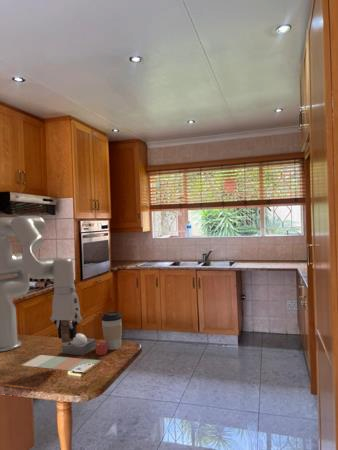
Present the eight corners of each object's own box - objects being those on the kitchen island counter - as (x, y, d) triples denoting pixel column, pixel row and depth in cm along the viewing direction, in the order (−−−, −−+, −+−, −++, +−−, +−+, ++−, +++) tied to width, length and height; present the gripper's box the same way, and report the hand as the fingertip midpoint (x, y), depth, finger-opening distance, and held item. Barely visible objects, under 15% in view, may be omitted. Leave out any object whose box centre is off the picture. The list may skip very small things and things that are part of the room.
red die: (96, 355, 145) (95, 345, 145) (97, 351, 149) (97, 342, 149) (105, 354, 145) (105, 344, 145) (107, 351, 149) (106, 341, 149)
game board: (19, 366, 138) (19, 365, 138) (39, 356, 148) (39, 354, 148) (85, 373, 127) (85, 372, 127) (101, 362, 138) (101, 360, 138)
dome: (67, 352, 149) (66, 335, 149) (77, 346, 156) (76, 330, 156) (81, 353, 147) (80, 336, 147) (90, 347, 153) (89, 331, 153)
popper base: (62, 354, 148) (61, 345, 148) (76, 346, 158) (75, 337, 158) (82, 356, 145) (82, 346, 145) (95, 348, 154) (95, 339, 154)
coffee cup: (114, 342, 161) (112, 309, 161) (127, 345, 155) (126, 311, 155) (98, 348, 154) (96, 313, 154) (112, 352, 148) (110, 316, 148)
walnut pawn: (59, 342, 135) (57, 318, 135) (66, 338, 139) (64, 315, 139) (68, 342, 134) (67, 318, 134) (75, 339, 138) (74, 315, 138)
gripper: (88, 288, 137) (91, 335, 137) (52, 288, 143) (55, 333, 143) (77, 292, 130) (80, 342, 130) (40, 292, 136) (42, 339, 136)
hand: (67, 337), depth 136 cm, fingers closed on walnut pawn, 4 cm apart
